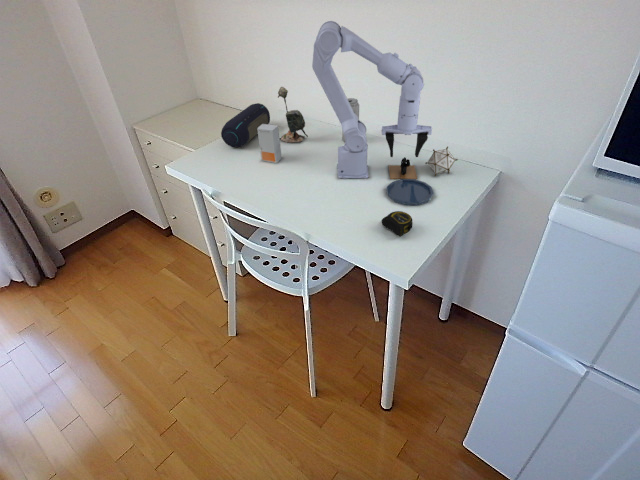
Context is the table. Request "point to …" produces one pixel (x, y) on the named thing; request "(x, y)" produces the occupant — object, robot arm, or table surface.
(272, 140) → the cosmetic box
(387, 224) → the tape measure
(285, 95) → the plant with pod
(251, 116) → the portable speaker
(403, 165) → the wireless earbuds
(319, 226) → the table surface
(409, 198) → the plate
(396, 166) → the cork coaster
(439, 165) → the game die
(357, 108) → the energy drink can
